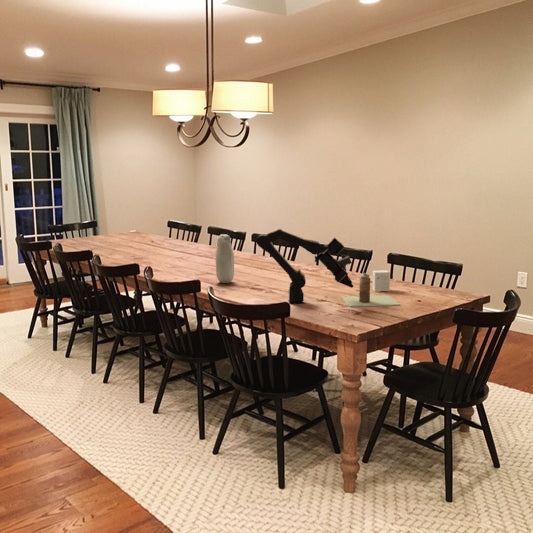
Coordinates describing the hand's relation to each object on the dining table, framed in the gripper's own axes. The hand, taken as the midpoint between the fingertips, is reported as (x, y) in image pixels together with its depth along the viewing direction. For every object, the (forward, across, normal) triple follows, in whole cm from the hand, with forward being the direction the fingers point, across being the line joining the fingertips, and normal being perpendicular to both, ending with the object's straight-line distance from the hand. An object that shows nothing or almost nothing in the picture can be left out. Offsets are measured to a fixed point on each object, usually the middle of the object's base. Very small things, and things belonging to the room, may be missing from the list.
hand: (352, 285), depth 264 cm
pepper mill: (+10, 0, +1) cm, 10 cm away
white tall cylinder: (-42, +45, +55) cm, 83 cm away
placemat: (+12, +2, 0) cm, 13 cm away
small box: (+18, +27, -6) cm, 33 cm away
